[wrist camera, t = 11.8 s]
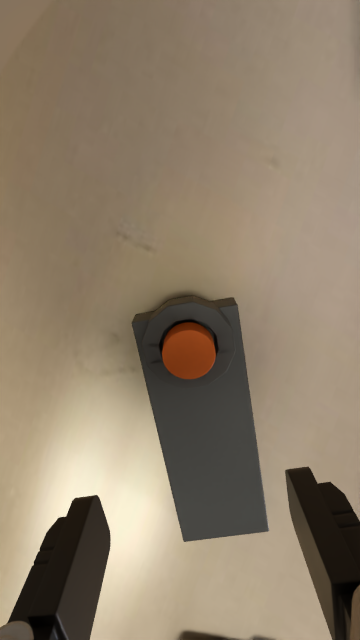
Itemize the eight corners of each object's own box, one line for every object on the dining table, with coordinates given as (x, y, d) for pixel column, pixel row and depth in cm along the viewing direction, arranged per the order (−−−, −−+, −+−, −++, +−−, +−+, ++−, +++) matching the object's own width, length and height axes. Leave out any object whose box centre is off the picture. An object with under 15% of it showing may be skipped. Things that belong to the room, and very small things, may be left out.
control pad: (264, 511, 34) (273, 550, 30) (183, 522, 34) (183, 560, 31) (231, 281, 27) (238, 293, 23) (131, 299, 28) (123, 313, 24)
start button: (217, 364, 25) (219, 375, 23) (168, 372, 25) (167, 383, 24) (209, 317, 24) (211, 325, 22) (159, 326, 24) (157, 335, 23)
